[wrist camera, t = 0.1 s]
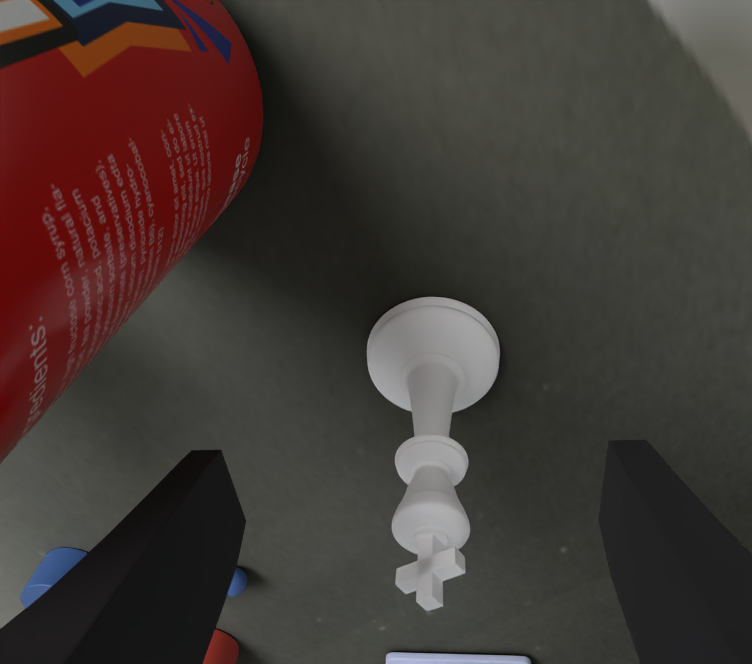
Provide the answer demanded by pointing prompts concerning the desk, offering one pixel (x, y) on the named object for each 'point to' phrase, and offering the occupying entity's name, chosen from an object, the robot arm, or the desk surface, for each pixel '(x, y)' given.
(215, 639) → the red spoon
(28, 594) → the blue spoon
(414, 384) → the chess piece
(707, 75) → the desk surface
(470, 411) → the desk surface
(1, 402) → the soda can
